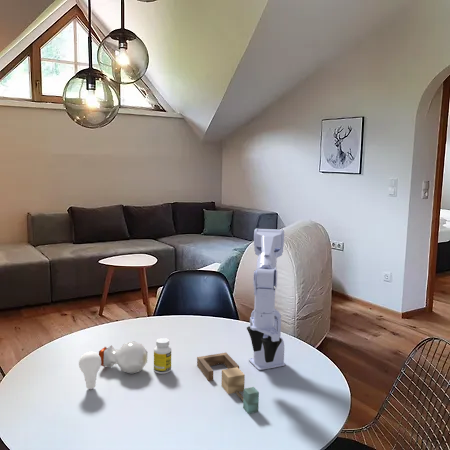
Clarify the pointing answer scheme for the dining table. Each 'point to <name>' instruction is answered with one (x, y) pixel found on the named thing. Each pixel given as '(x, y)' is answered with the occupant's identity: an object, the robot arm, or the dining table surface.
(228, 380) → the wooden blocks on rod
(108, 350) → the potion bottle
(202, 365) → the wooden u-shaped bracket
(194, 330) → the dining table surface
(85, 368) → the lightbulb
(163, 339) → the supplement bottle
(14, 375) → the dining table surface
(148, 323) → the dining table surface
